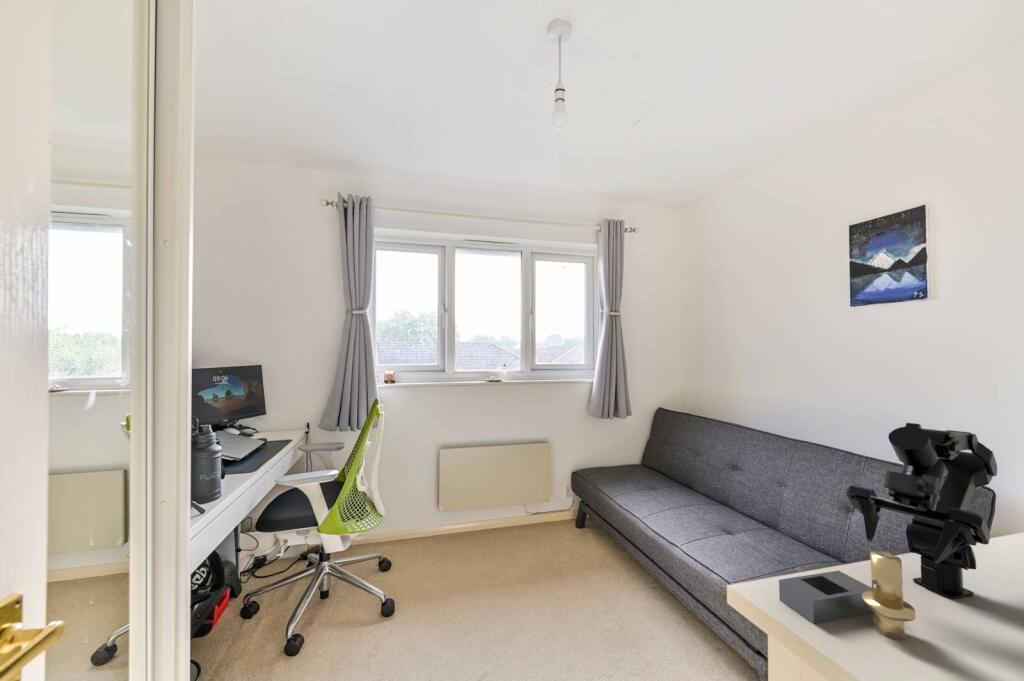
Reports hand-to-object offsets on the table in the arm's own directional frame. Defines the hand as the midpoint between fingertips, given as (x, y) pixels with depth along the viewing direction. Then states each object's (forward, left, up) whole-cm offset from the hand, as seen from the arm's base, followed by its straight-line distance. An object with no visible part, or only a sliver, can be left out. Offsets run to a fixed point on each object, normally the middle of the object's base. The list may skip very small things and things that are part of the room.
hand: (900, 550), depth 72 cm
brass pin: (+6, +2, -13) cm, 14 cm away
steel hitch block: (+10, -6, -12) cm, 17 cm away
